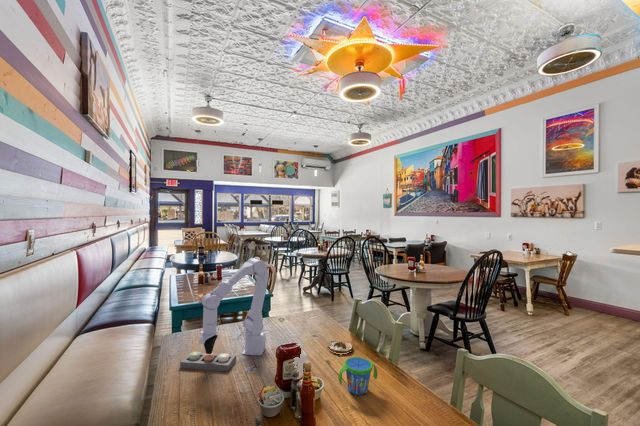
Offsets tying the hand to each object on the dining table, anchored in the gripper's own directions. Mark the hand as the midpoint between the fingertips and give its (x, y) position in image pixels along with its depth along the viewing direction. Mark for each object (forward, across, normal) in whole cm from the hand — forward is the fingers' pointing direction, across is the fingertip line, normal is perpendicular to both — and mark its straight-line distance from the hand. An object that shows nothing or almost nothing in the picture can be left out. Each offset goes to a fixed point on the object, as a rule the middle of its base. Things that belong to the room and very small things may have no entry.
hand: (209, 353), depth 127 cm
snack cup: (+5, +11, +64) cm, 65 cm away
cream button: (+3, 0, +6) cm, 7 cm away
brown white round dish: (+5, -22, +57) cm, 61 cm away
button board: (+5, 0, 0) cm, 5 cm away
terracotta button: (+3, 0, 0) cm, 3 cm away
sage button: (+3, 0, -7) cm, 7 cm away
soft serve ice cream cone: (+5, +11, +40) cm, 42 cm away
